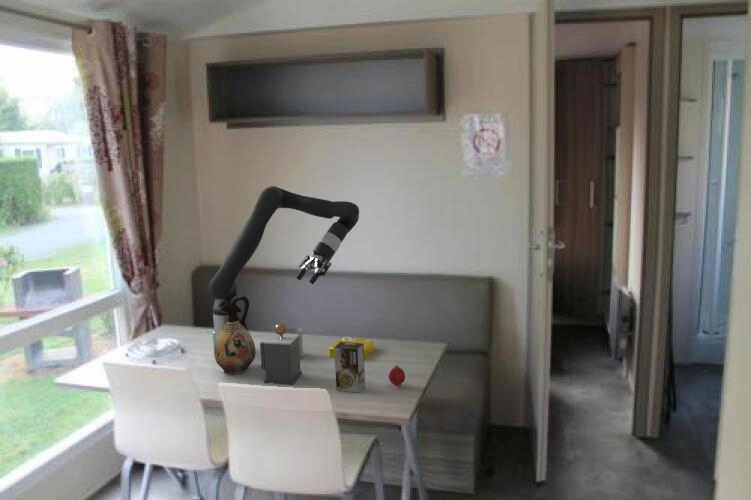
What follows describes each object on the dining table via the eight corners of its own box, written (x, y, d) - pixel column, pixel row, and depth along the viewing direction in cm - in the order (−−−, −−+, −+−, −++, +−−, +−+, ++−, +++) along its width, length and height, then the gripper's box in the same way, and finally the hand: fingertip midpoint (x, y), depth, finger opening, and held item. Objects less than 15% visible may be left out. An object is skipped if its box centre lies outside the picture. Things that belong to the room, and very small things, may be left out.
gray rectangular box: (257, 382, 240) (255, 342, 237) (268, 371, 250) (265, 332, 247) (293, 384, 237) (290, 343, 234) (302, 373, 247) (300, 333, 245)
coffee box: (365, 386, 234) (364, 343, 231) (359, 393, 228) (358, 349, 225) (342, 383, 237) (340, 341, 234) (335, 390, 231) (333, 346, 228)
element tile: (327, 358, 265) (327, 346, 264) (342, 346, 278) (341, 335, 278) (362, 361, 259) (362, 350, 259) (375, 349, 273) (375, 338, 272)
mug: (307, 354, 268) (306, 328, 266) (295, 361, 261) (294, 334, 259) (283, 350, 274) (282, 325, 272) (271, 356, 267) (269, 330, 265)
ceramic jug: (221, 381, 241) (215, 303, 236) (211, 368, 255) (205, 294, 249) (266, 372, 249) (261, 296, 244) (253, 360, 263) (249, 288, 257)
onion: (388, 383, 235) (387, 362, 234) (404, 382, 236) (403, 361, 234) (389, 390, 230) (389, 368, 228) (406, 389, 230) (405, 367, 229)
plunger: (270, 376, 240) (267, 327, 236) (277, 369, 247) (274, 321, 244) (289, 377, 238) (287, 328, 235) (296, 370, 246) (293, 322, 242)
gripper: (310, 239, 256) (287, 272, 251) (333, 243, 245) (309, 278, 240) (322, 250, 260) (299, 283, 255) (344, 255, 250) (321, 289, 244)
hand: (304, 280), depth 248 cm, fingers open, 8 cm apart
